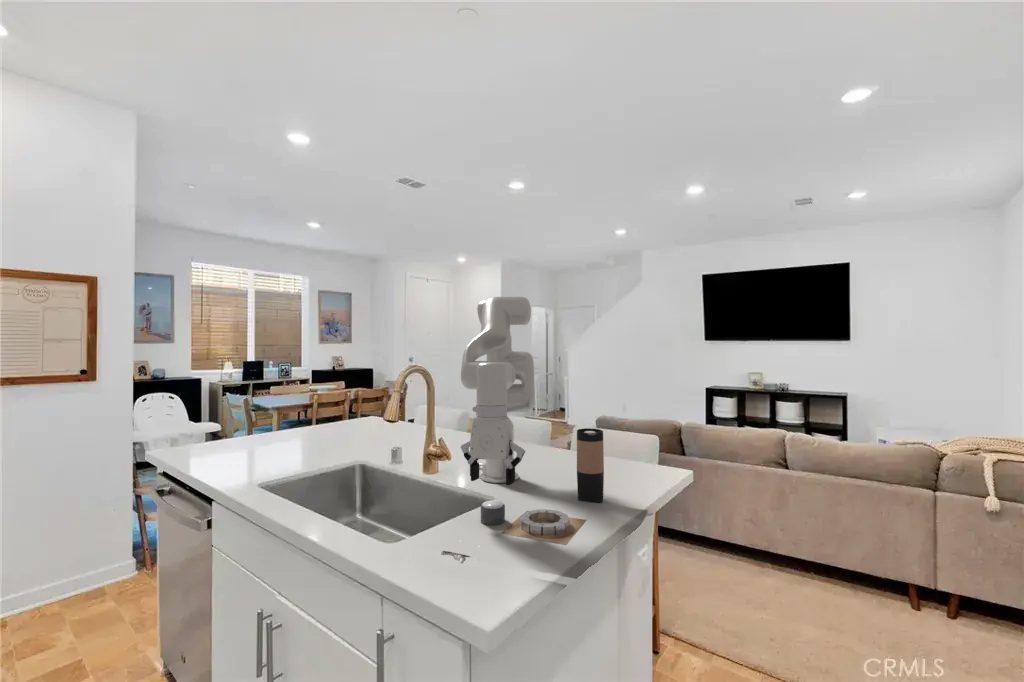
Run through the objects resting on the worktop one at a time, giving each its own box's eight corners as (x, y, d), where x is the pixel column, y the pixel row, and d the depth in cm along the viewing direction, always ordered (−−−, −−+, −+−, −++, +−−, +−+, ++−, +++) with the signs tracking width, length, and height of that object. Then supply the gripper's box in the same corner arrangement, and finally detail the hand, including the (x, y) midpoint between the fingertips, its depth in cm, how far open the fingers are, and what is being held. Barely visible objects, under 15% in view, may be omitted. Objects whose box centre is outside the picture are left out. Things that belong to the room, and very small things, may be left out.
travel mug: (587, 494, 140) (587, 427, 140) (609, 500, 134) (608, 430, 134) (571, 500, 134) (571, 430, 135) (593, 507, 129) (593, 434, 129)
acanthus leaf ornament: (460, 545, 106) (460, 537, 106) (484, 553, 102) (484, 544, 102) (437, 557, 100) (437, 548, 100) (461, 566, 96) (461, 557, 96)
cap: (476, 528, 115) (476, 506, 115) (487, 519, 120) (487, 498, 120) (498, 532, 112) (498, 509, 112) (508, 523, 118) (508, 502, 118)
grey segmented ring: (512, 530, 110) (512, 522, 110) (531, 514, 120) (531, 506, 120) (559, 539, 105) (559, 530, 105) (575, 521, 115) (575, 513, 115)
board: (499, 538, 109) (499, 532, 109) (527, 515, 123) (527, 510, 123) (566, 550, 102) (565, 544, 102) (586, 524, 116) (586, 519, 116)
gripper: (453, 412, 116) (454, 481, 116) (517, 415, 109) (517, 489, 109) (469, 409, 123) (469, 474, 123) (530, 411, 116) (530, 481, 115)
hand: (492, 481), depth 116 cm, fingers open, 9 cm apart
